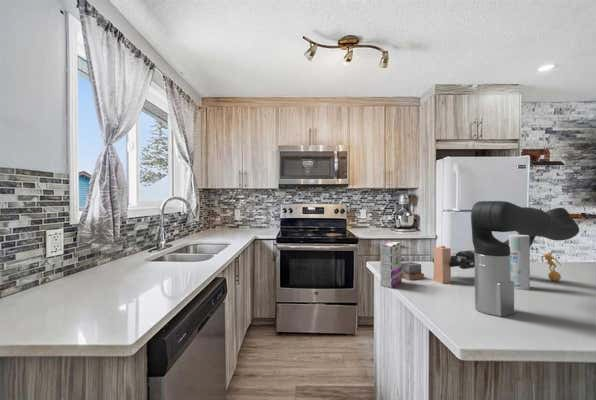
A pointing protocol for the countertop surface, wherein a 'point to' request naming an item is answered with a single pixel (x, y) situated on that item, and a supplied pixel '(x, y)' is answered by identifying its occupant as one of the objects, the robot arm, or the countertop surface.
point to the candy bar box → (390, 264)
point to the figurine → (553, 274)
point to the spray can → (520, 261)
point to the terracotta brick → (442, 264)
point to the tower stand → (411, 271)
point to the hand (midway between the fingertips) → (441, 262)
